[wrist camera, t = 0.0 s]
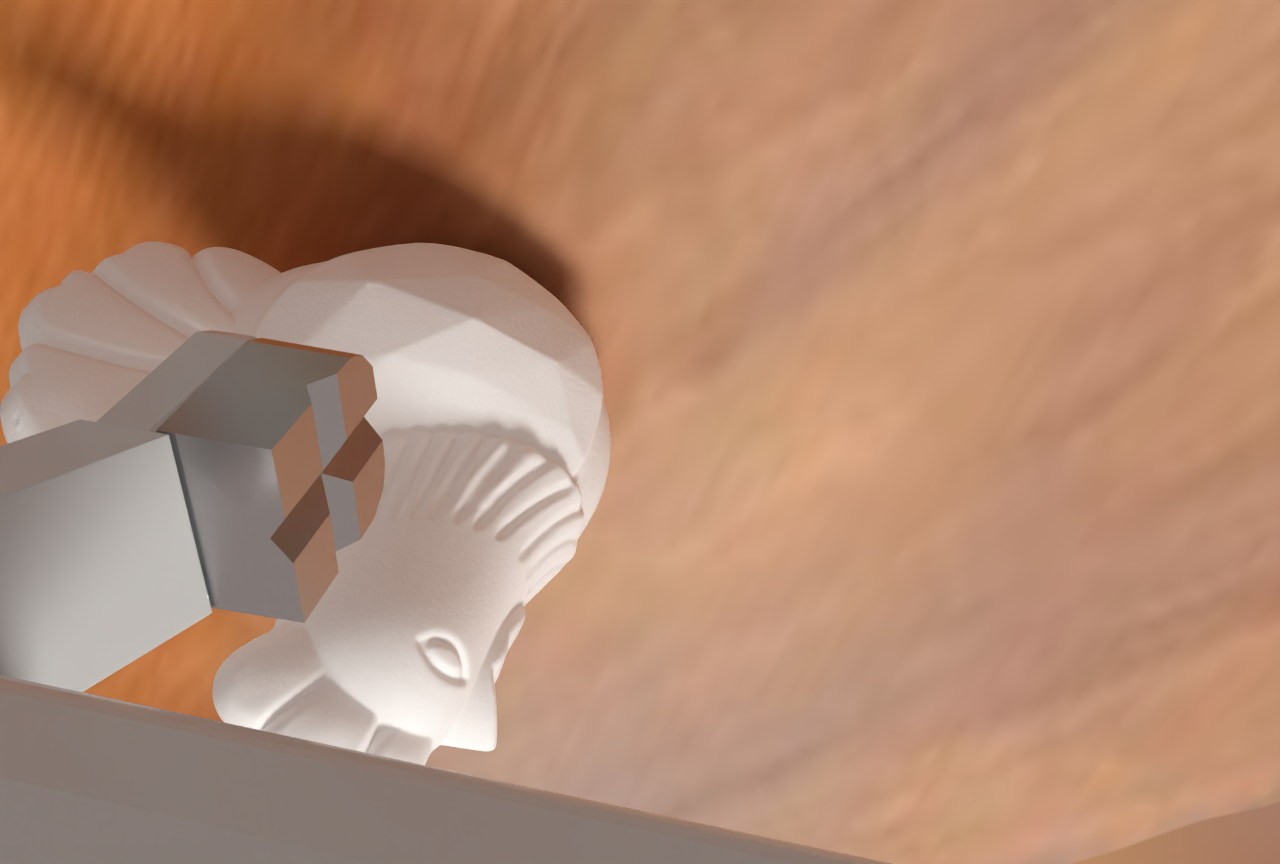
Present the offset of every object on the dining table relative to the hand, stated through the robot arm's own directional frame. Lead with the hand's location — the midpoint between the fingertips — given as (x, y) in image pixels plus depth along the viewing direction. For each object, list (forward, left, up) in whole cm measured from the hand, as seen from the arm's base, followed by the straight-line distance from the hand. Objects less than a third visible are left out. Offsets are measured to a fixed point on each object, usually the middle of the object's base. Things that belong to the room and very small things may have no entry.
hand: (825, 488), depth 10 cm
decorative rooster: (+27, -22, -39) cm, 52 cm away
